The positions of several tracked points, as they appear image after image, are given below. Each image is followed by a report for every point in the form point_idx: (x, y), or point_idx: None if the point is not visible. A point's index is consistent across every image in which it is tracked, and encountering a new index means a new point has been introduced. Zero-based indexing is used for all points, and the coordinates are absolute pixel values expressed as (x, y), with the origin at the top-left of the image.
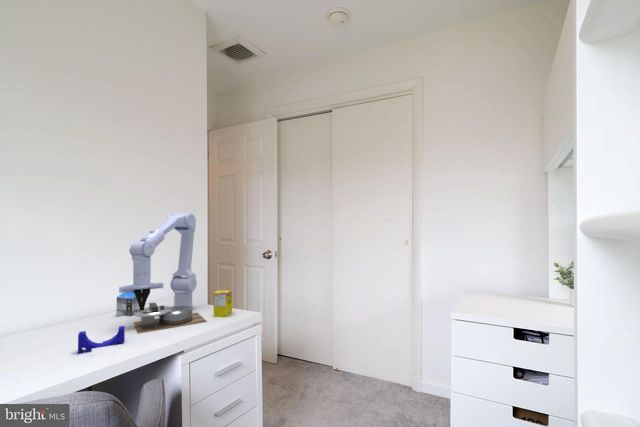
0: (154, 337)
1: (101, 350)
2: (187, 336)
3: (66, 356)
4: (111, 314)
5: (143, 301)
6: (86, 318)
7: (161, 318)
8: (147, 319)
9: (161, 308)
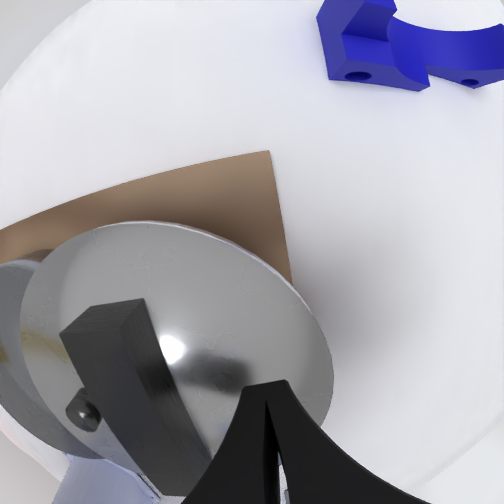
0: (159, 95)
1: None
2: (25, 80)
3: None
4: None
5: (251, 460)
6: (429, 472)
7: None
8: None
9: (87, 394)
